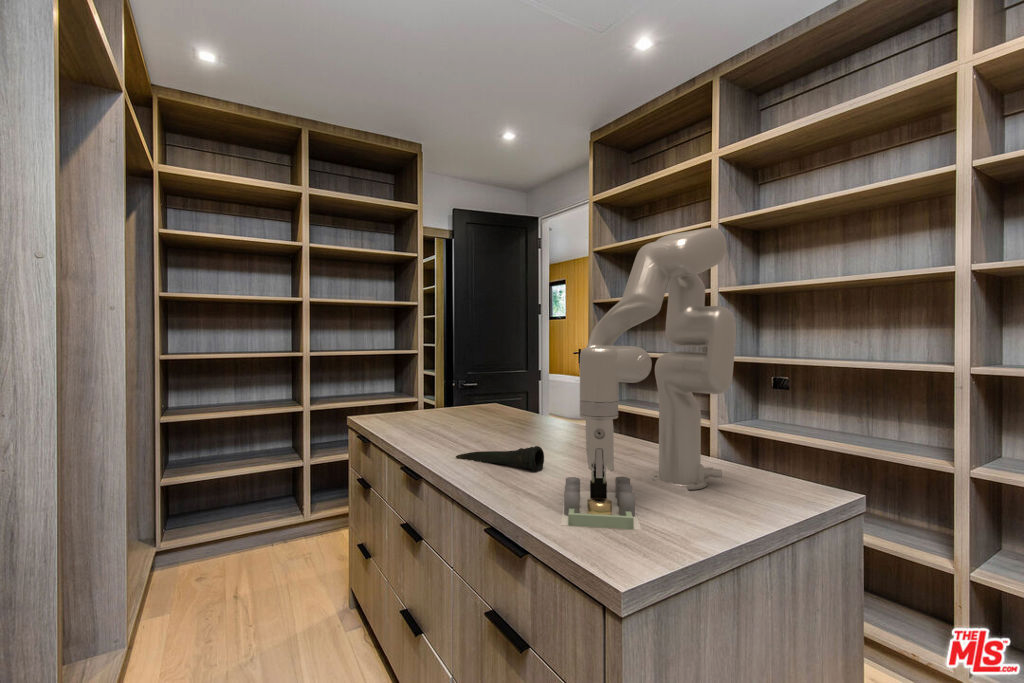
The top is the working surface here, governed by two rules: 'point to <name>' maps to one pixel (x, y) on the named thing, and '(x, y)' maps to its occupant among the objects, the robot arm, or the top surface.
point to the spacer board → (619, 519)
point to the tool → (510, 457)
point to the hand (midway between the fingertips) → (598, 501)
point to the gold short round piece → (599, 506)
